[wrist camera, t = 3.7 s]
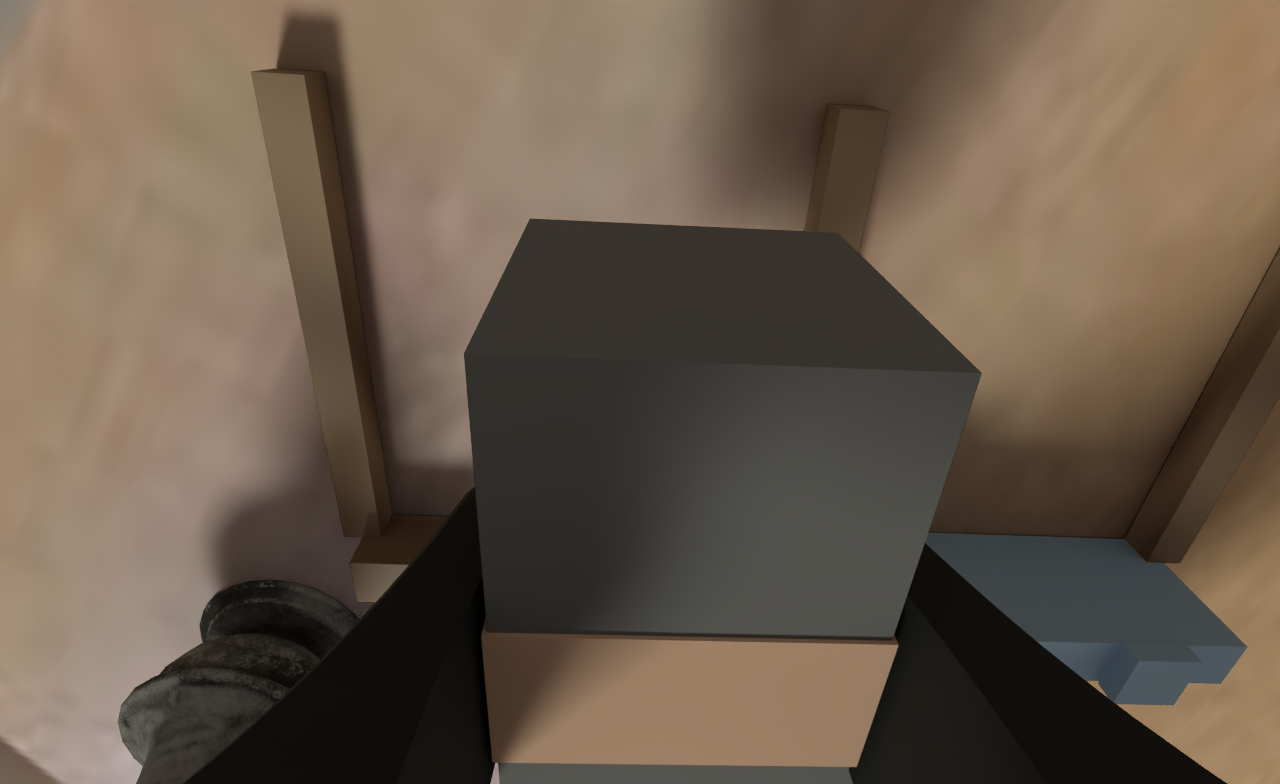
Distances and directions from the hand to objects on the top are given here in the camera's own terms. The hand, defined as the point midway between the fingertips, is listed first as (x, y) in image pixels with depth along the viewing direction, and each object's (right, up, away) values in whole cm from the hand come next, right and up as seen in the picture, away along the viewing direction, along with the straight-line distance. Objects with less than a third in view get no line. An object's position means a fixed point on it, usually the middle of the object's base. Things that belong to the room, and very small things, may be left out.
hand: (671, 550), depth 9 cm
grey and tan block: (0, +1, +1) cm, 2 cm away
